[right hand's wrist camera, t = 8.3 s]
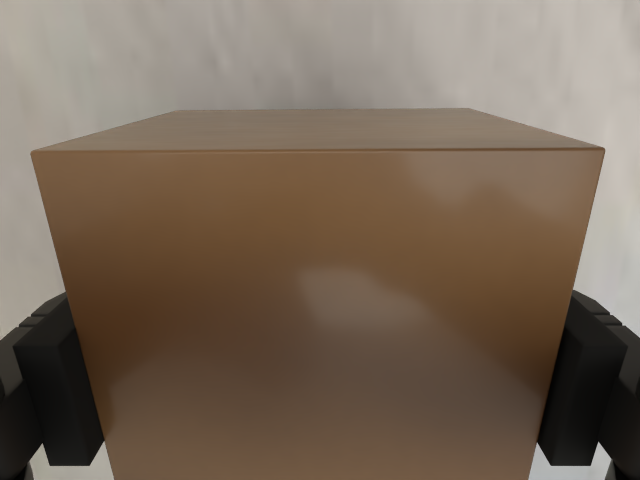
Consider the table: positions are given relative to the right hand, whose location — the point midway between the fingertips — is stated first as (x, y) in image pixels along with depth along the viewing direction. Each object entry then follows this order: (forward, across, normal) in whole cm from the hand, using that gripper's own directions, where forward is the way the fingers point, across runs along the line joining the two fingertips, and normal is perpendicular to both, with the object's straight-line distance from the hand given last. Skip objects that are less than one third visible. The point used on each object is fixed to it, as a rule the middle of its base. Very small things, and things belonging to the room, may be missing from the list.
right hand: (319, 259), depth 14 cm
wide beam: (+1, 0, -31) cm, 31 cm away
